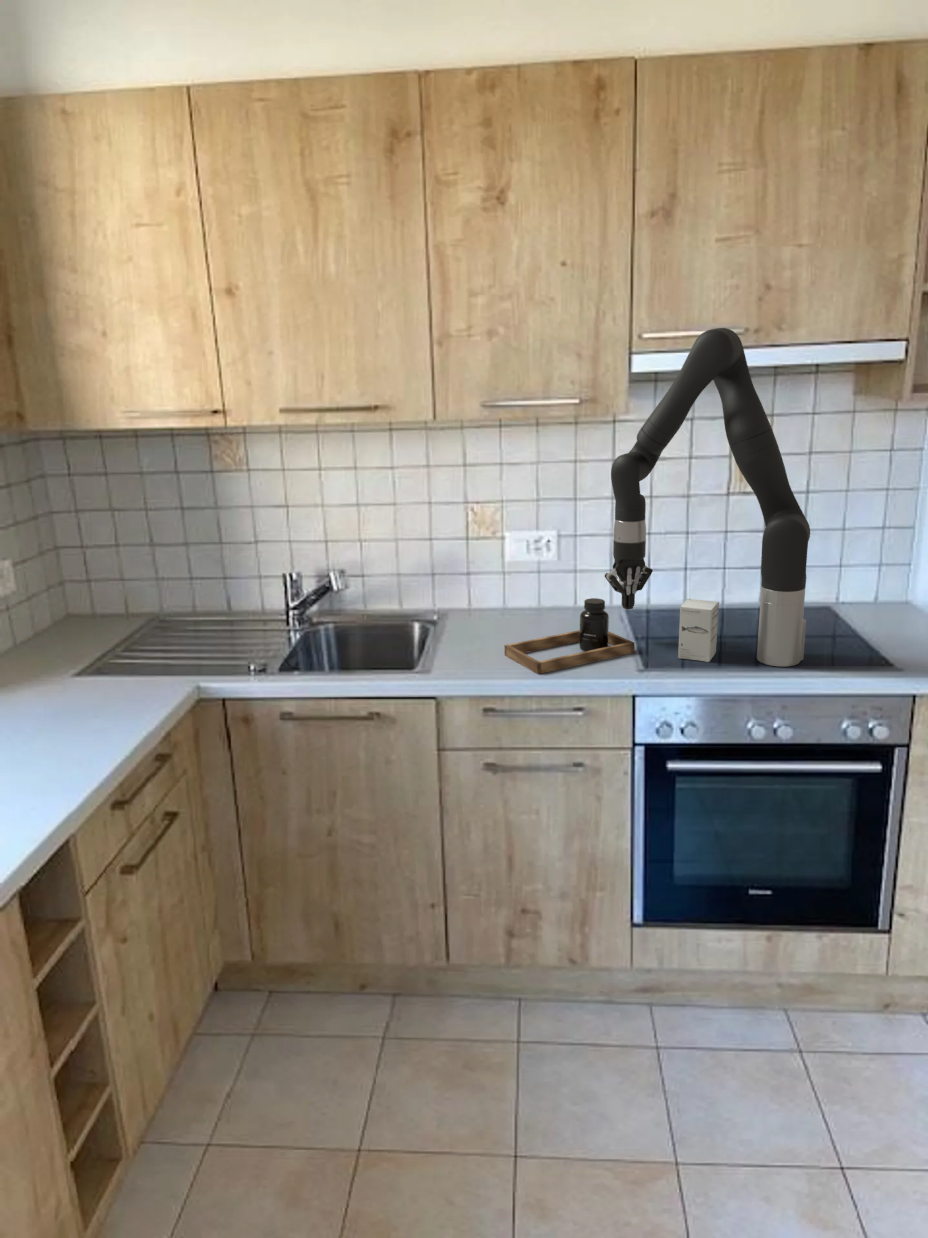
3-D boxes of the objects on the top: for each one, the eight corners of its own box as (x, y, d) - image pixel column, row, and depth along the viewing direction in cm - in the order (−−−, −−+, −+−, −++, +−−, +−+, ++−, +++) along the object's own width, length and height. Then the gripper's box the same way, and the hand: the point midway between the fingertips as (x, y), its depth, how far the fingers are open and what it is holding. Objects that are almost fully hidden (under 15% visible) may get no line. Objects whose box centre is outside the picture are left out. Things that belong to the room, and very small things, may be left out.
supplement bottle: (584, 654, 212) (584, 605, 208) (576, 645, 218) (576, 598, 215) (612, 652, 213) (612, 603, 209) (603, 643, 219) (603, 595, 216)
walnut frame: (597, 636, 224) (597, 626, 224) (634, 652, 212) (634, 642, 211) (504, 655, 213) (504, 645, 213) (537, 674, 200) (537, 663, 200)
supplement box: (677, 659, 206) (678, 606, 203) (685, 649, 213) (687, 597, 209) (709, 663, 203) (712, 609, 199) (717, 653, 209) (719, 600, 206)
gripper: (615, 544, 206) (614, 616, 211) (662, 537, 212) (659, 608, 217) (597, 538, 212) (596, 609, 218) (642, 532, 218) (640, 600, 223)
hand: (628, 608), depth 217 cm, fingers closed
